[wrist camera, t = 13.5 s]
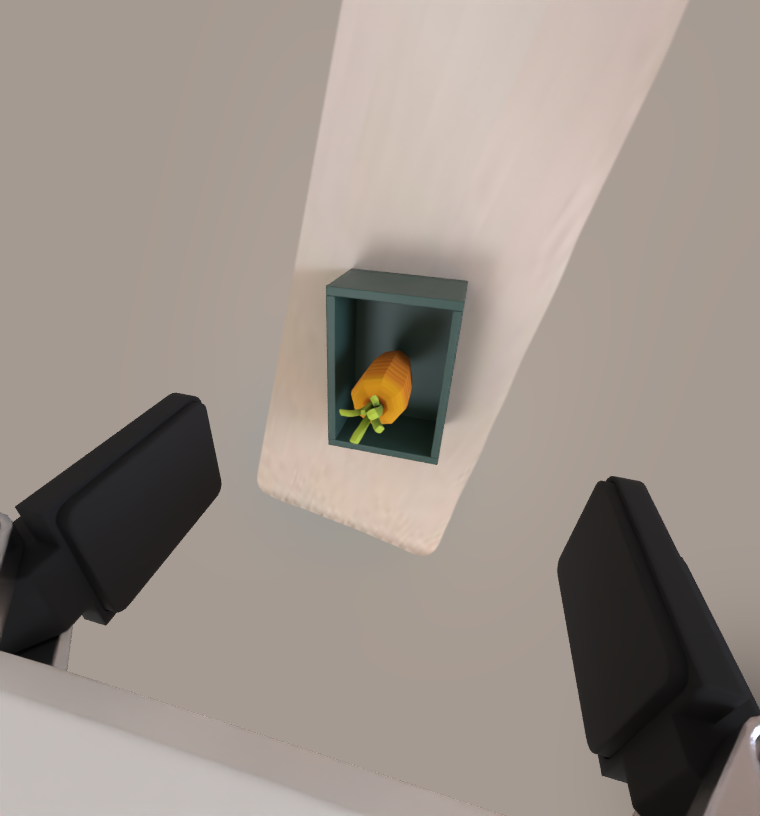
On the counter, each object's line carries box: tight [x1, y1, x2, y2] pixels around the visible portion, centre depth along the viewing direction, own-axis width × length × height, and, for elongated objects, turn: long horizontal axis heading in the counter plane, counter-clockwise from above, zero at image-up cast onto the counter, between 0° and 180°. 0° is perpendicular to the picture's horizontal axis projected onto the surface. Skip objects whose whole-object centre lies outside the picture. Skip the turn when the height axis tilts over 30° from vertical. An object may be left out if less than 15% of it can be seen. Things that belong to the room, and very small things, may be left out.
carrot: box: [339, 350, 412, 444], centre depth 36 cm, size 5×5×15 cm
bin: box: [326, 269, 468, 465], centre depth 39 cm, size 17×12×8 cm
